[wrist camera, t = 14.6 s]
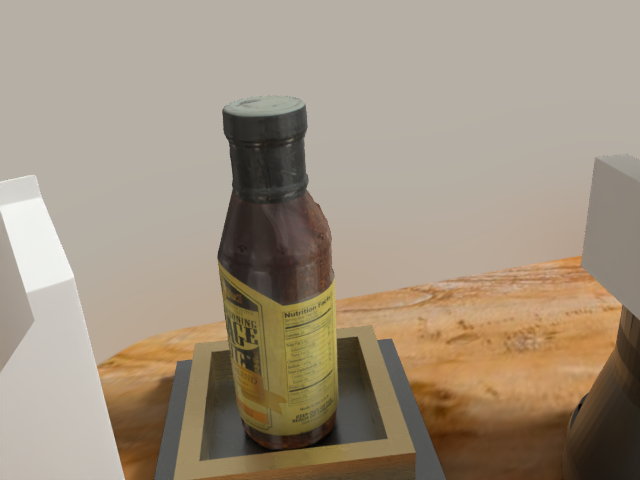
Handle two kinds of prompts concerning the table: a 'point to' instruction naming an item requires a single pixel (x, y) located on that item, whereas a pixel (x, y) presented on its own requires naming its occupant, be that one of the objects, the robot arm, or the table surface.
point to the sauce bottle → (277, 279)
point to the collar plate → (315, 460)
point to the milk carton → (50, 361)
